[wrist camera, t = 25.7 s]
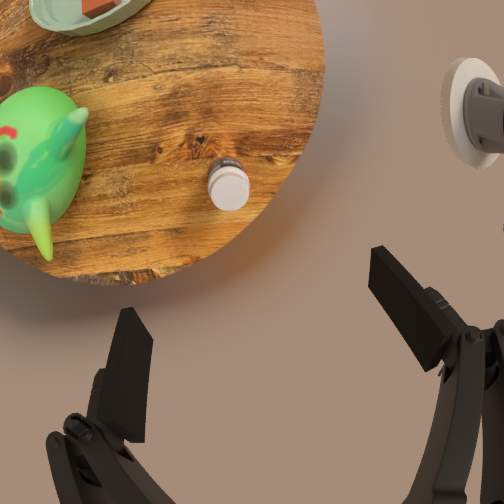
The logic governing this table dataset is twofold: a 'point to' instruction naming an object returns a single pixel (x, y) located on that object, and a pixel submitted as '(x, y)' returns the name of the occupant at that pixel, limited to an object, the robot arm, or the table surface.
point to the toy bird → (39, 161)
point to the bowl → (79, 16)
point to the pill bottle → (228, 184)
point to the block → (98, 7)
